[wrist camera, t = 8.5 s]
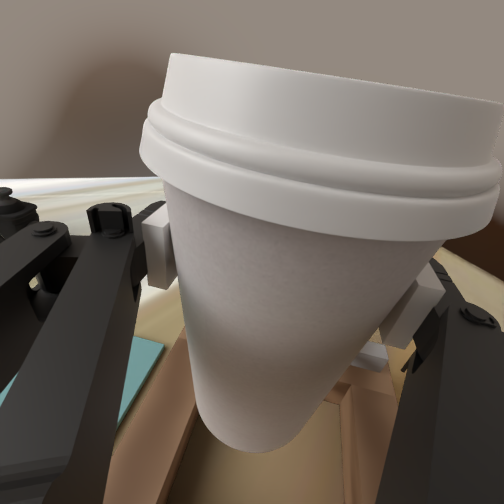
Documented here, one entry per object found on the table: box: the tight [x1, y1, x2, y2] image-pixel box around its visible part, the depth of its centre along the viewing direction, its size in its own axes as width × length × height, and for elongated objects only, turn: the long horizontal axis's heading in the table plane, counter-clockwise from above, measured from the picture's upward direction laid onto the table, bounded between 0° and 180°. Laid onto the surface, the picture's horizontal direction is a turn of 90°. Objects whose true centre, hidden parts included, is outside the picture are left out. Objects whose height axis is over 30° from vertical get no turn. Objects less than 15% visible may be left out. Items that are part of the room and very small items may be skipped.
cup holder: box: [103, 326, 398, 504], centre depth 20 cm, size 20×20×6 cm
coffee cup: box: [139, 53, 504, 453], centre depth 11 cm, size 10×10×15 cm
